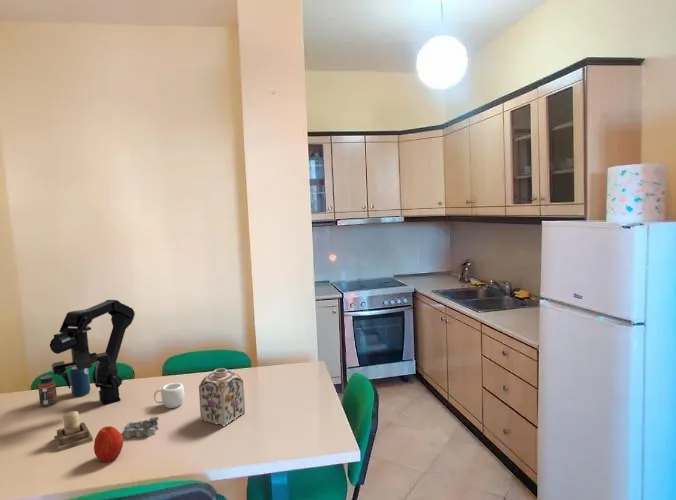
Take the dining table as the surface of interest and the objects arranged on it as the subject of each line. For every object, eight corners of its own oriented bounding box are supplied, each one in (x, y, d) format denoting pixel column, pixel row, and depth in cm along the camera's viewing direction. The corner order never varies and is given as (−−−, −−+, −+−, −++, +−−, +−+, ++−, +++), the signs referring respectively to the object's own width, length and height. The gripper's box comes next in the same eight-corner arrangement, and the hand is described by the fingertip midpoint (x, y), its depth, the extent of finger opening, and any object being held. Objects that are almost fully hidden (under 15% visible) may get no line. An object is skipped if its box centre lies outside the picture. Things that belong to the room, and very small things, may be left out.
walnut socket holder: (87, 429, 165) (86, 420, 164) (92, 440, 157) (91, 431, 156) (54, 439, 159) (53, 429, 158) (58, 451, 151) (57, 441, 150)
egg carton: (161, 427, 165) (160, 416, 165) (152, 438, 158) (152, 426, 157) (131, 428, 165) (130, 417, 165) (121, 439, 158) (120, 427, 157)
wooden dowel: (79, 431, 161) (77, 409, 160) (81, 436, 157) (79, 414, 156) (64, 436, 158) (62, 414, 157) (66, 441, 154) (64, 418, 153)
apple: (128, 450, 150) (125, 419, 148) (117, 465, 141) (114, 432, 140) (102, 452, 149) (99, 420, 148) (89, 466, 141) (86, 433, 140)
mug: (188, 400, 186) (187, 381, 185) (180, 410, 178) (178, 390, 177) (159, 400, 187) (157, 381, 186) (149, 410, 178) (148, 390, 177)
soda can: (94, 391, 199) (91, 364, 197) (81, 398, 192) (78, 370, 190) (81, 389, 200) (78, 363, 199) (68, 396, 194) (65, 369, 192)
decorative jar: (200, 421, 168) (196, 373, 166) (222, 407, 178) (219, 362, 176) (225, 427, 163) (222, 378, 161) (246, 413, 173) (243, 367, 171)
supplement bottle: (49, 407, 184) (46, 380, 182) (36, 406, 185) (33, 379, 184) (61, 401, 190) (58, 374, 188) (48, 400, 191) (45, 373, 190)
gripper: (53, 355, 161) (57, 398, 163) (111, 344, 172) (115, 384, 174) (49, 348, 170) (53, 389, 171) (105, 337, 181) (108, 376, 183)
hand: (83, 384), depth 175 cm, fingers open, 9 cm apart
